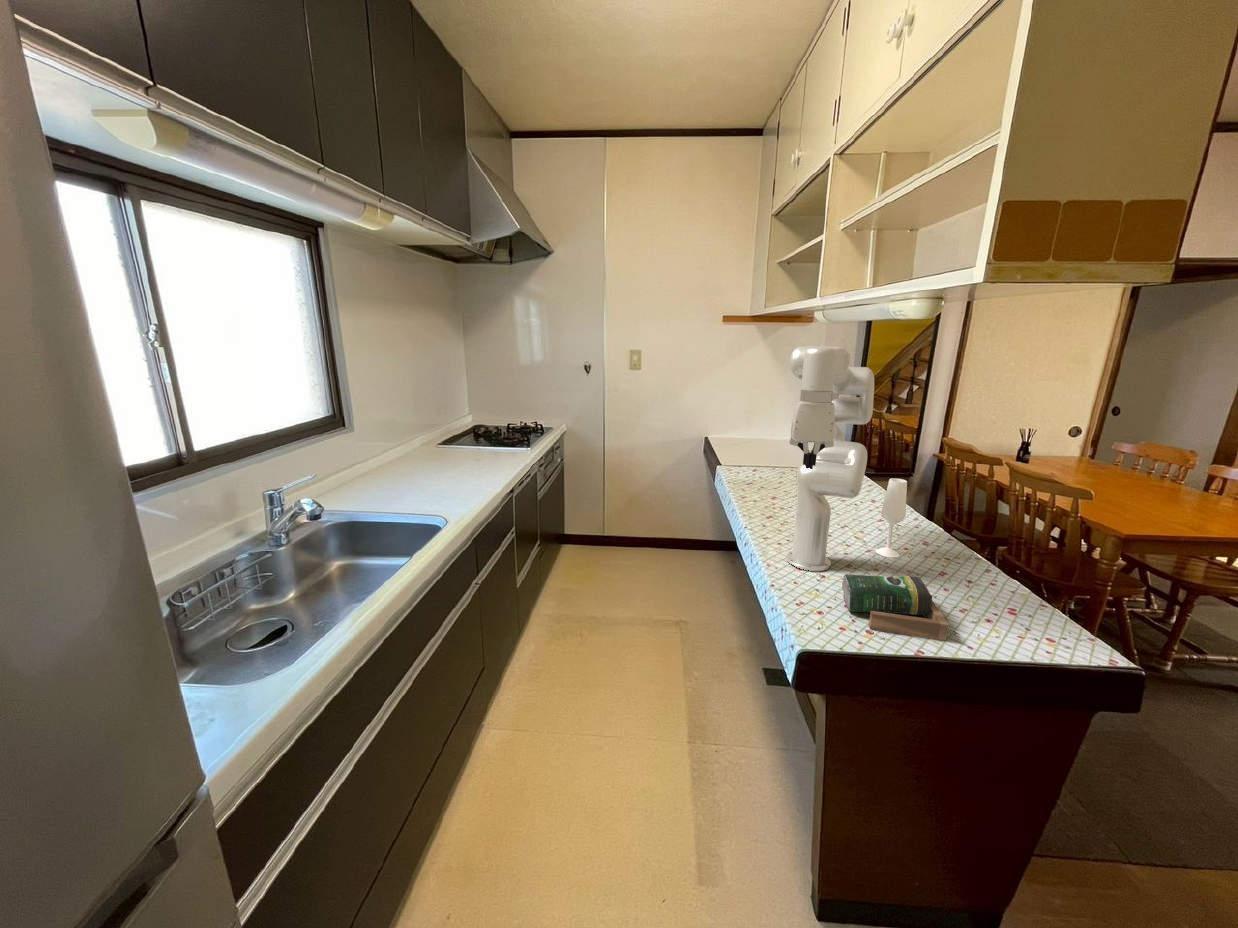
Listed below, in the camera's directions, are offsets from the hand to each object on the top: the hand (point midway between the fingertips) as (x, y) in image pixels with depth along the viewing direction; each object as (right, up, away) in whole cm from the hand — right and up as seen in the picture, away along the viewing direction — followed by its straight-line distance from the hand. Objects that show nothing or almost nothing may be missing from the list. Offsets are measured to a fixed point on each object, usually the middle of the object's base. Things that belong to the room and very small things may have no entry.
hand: (808, 467), depth 128 cm
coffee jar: (+7, -31, -5) cm, 33 cm away
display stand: (+18, -36, -7) cm, 41 cm away
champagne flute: (+36, -27, +28) cm, 53 cm away
